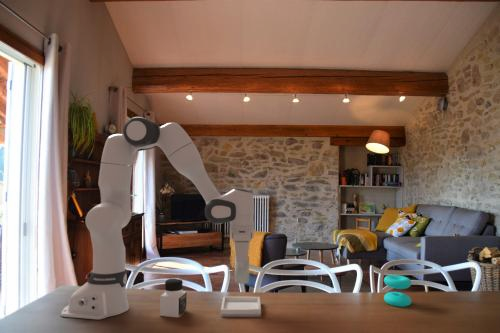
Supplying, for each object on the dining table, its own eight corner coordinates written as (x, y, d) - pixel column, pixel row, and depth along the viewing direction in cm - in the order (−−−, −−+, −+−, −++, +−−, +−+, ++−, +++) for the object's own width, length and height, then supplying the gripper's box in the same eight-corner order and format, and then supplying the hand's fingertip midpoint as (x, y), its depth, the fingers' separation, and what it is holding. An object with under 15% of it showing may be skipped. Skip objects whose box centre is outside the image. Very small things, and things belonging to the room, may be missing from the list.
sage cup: (234, 283, 135) (234, 258, 135) (234, 279, 140) (235, 255, 140) (249, 283, 135) (249, 258, 135) (248, 279, 140) (248, 255, 140)
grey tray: (220, 316, 130) (220, 309, 130) (223, 303, 144) (223, 296, 144) (261, 317, 130) (261, 309, 130) (259, 303, 144) (259, 296, 144)
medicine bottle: (178, 318, 128) (179, 282, 129) (159, 316, 130) (160, 281, 130) (186, 310, 135) (187, 277, 136) (168, 309, 137) (168, 276, 137)
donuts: (387, 280, 142) (381, 273, 152) (387, 307, 142) (381, 298, 151) (415, 281, 141) (406, 274, 151) (415, 308, 141) (406, 299, 150)
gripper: (234, 228, 148) (233, 263, 148) (232, 237, 128) (232, 277, 127) (250, 228, 148) (249, 263, 148) (251, 237, 128) (250, 277, 127)
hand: (241, 270), depth 137 cm, fingers closed on sage cup, 5 cm apart
